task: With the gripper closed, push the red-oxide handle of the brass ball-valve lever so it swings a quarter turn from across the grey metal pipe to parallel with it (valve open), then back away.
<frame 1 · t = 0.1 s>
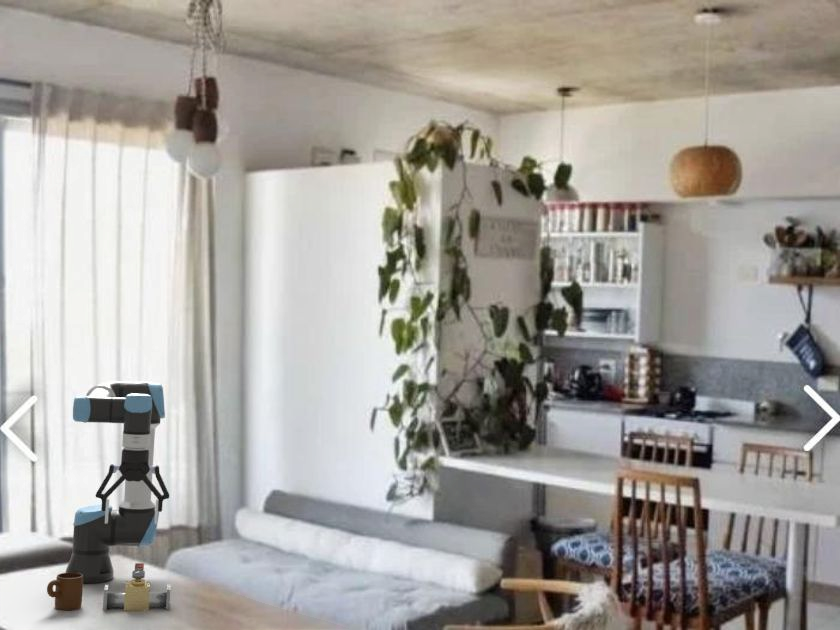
hand: (131, 523, 296), 28 cm above the table, fingers open, 13 cm apart
lever: (138, 570, 315), point 10 cm above the table, hinge at 0.0°
valve pipe: (136, 607, 310), on the table
mug: (62, 609, 304), on the table
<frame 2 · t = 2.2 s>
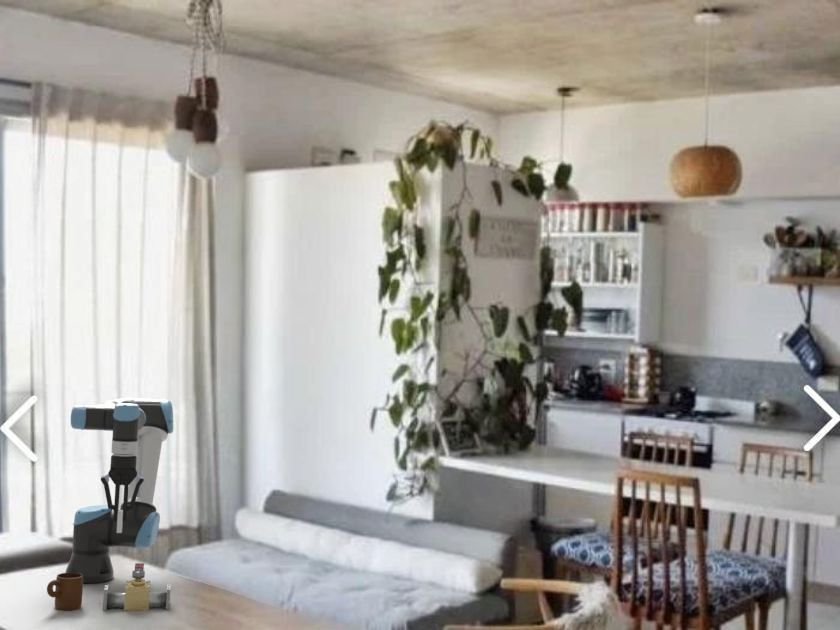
hand: (119, 531, 317), 21 cm above the table, fingers closed
nothing on the table moved.
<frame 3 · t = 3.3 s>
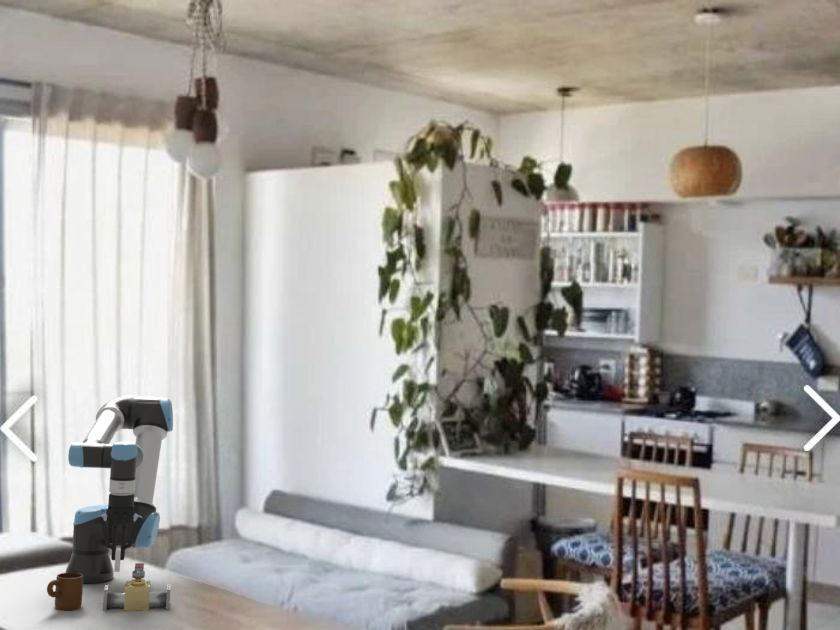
hand: (117, 570, 317), 9 cm above the table, fingers closed
nothing on the table moved.
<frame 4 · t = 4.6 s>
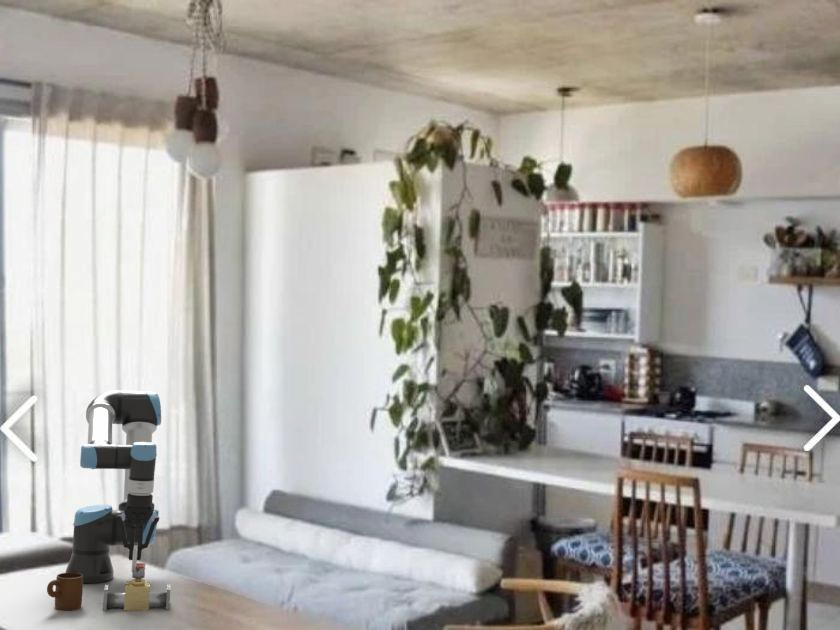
hand: (133, 570, 318), 9 cm above the table, fingers closed
lever: (139, 570, 315), point 10 cm above the table, hinge at 2.3°, touching gripper
everything else where it was.
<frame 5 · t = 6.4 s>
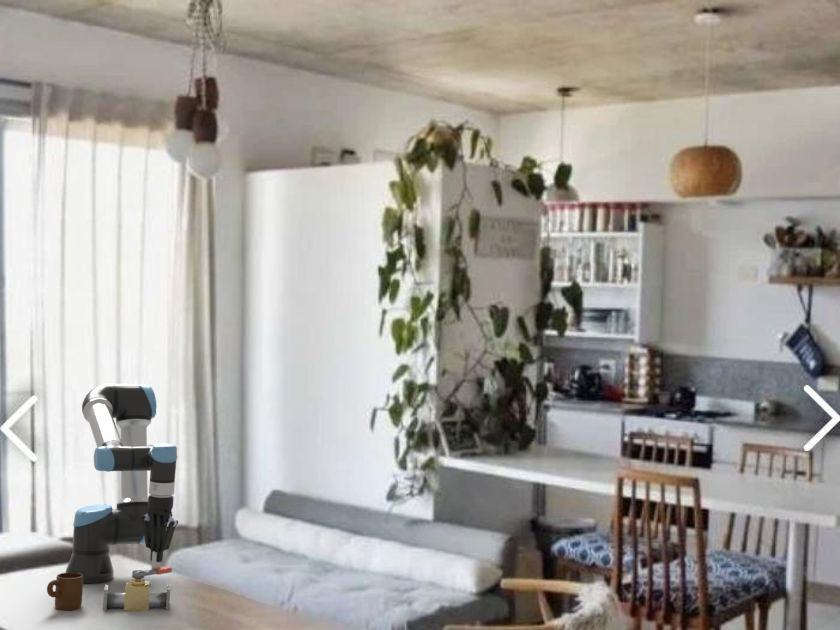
hand: (155, 572, 318), 9 cm above the table, fingers closed
lever: (151, 572, 314), point 10 cm above the table, hinge at 54.2°, touching gripper
everything else where it was.
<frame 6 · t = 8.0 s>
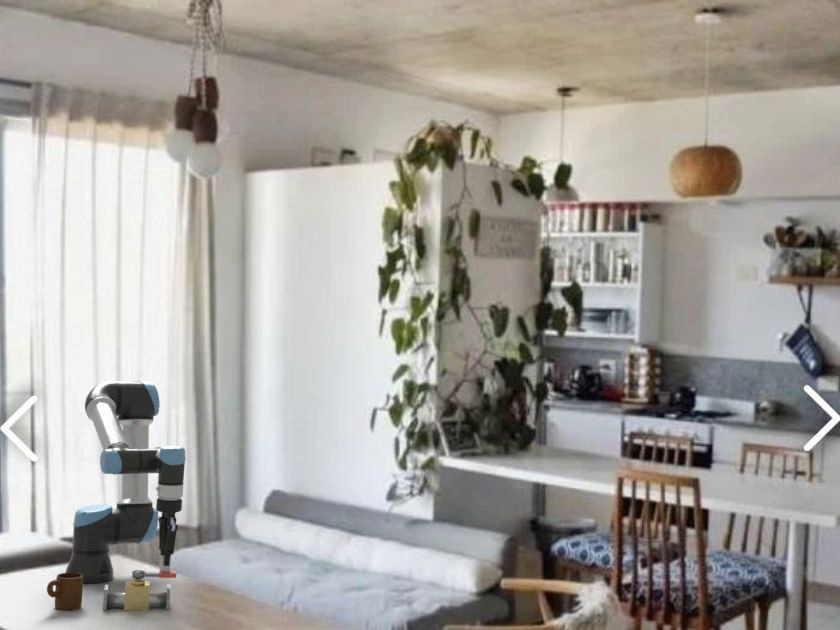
hand: (164, 575, 314), 9 cm above the table, fingers closed
lever: (154, 574, 312), point 10 cm above the table, hinge at 90.2°, touching gripper
everything else where it was.
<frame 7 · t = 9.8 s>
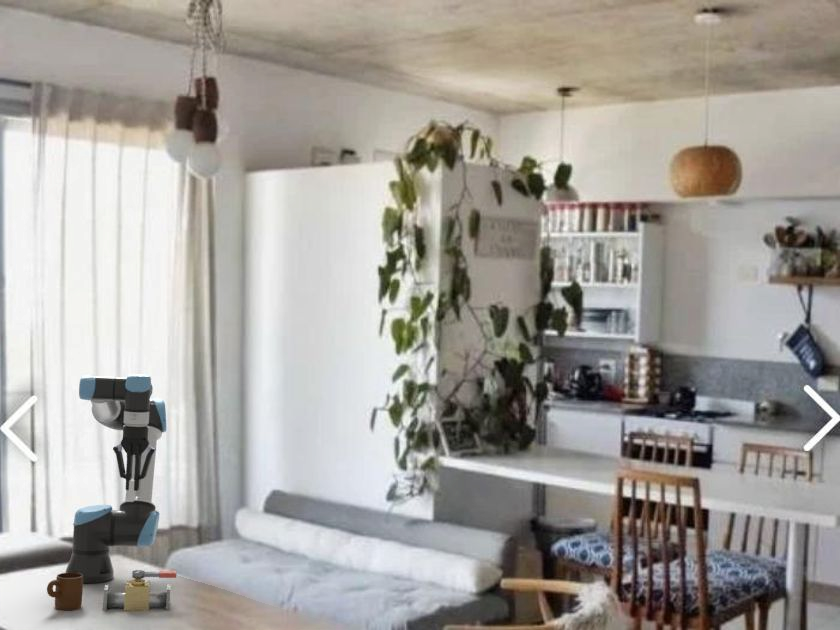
hand: (131, 500, 321), 30 cm above the table, fingers closed
lever: (154, 574, 312), point 10 cm above the table, hinge at 90.2°
everything else where it was.
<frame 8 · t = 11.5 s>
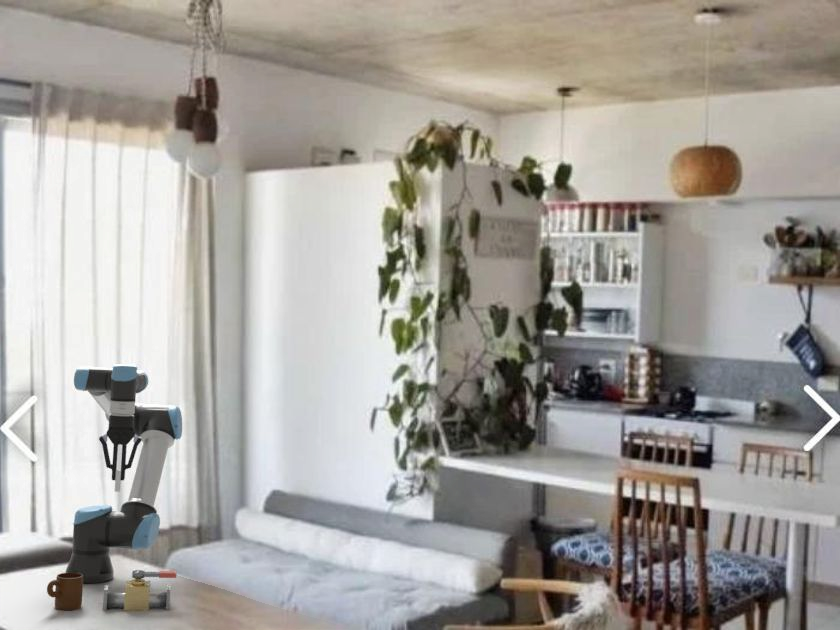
hand: (117, 490, 321), 32 cm above the table, fingers closed
nothing on the table moved.
at the end: lever at +90° (first picture: +0°) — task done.
